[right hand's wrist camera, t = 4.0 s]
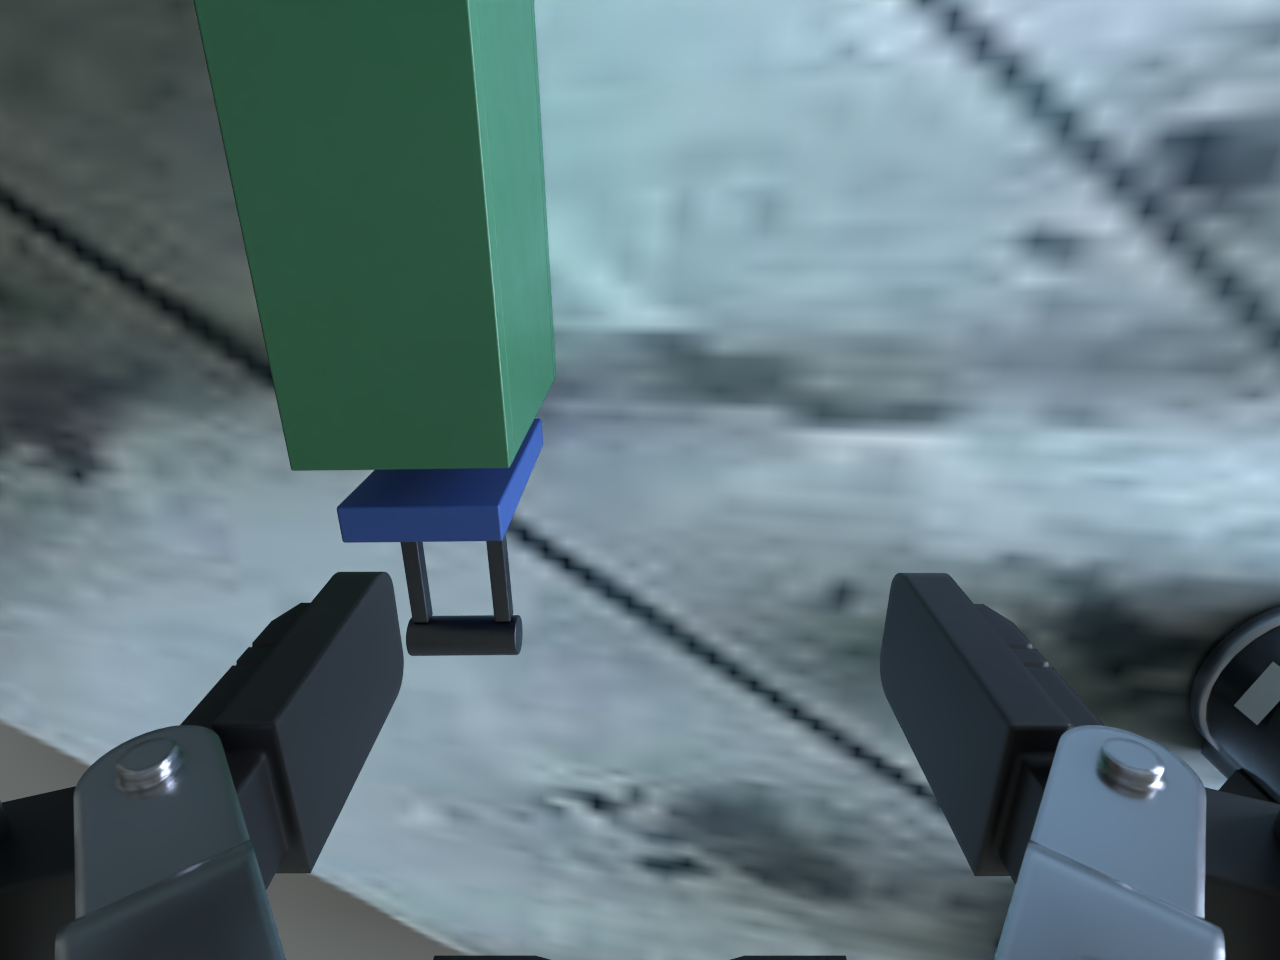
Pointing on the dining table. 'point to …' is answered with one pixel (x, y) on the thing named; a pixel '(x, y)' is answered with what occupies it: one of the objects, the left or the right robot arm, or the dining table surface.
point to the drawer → (447, 512)
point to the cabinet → (391, 221)
